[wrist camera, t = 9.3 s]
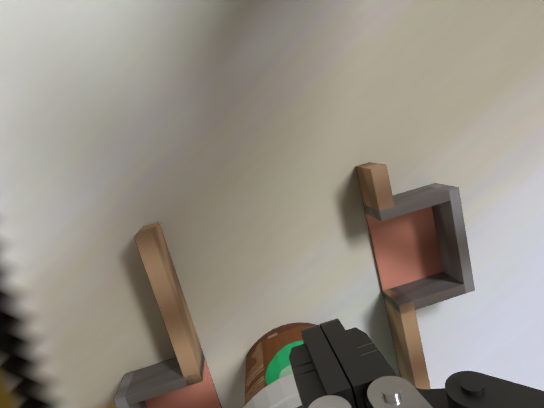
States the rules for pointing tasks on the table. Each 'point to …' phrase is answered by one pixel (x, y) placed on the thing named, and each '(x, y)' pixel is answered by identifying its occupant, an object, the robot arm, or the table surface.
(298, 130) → the table surface
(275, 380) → the food container
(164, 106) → the table surface
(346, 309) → the table surface
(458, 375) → the robot arm
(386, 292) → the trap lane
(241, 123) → the table surface
